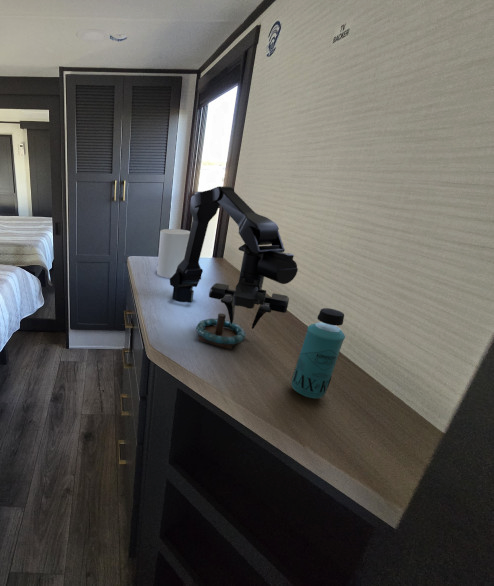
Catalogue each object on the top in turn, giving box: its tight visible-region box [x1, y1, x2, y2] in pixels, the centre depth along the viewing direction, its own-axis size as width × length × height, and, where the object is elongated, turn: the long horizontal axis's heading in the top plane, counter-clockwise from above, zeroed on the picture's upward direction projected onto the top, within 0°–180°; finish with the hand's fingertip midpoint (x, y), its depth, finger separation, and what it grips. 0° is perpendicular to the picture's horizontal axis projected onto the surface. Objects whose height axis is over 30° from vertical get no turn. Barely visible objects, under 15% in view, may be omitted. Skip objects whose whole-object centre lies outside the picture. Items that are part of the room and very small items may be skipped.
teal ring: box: [195, 318, 247, 345], centre depth 89 cm, size 13×13×2 cm
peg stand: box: [197, 312, 237, 350], centre depth 89 cm, size 9×9×8 cm
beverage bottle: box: [290, 307, 346, 399], centre depth 64 cm, size 6×7×20 cm
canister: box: [156, 228, 190, 279], centre depth 143 cm, size 14×14×20 cm
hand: (241, 325), depth 85 cm, fingers open, 5 cm apart
